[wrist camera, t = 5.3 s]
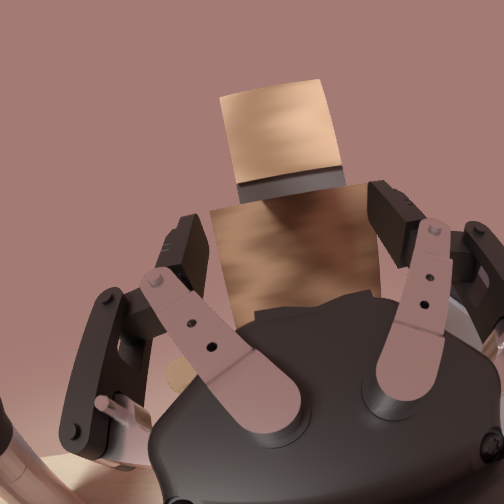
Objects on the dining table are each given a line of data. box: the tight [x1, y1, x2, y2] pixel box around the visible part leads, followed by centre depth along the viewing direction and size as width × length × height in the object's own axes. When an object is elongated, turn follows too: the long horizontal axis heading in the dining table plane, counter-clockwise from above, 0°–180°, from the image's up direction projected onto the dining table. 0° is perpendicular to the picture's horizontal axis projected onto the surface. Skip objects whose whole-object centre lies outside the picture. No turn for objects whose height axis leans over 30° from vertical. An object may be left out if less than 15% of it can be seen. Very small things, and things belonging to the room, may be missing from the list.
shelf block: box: [210, 183, 381, 329], centre depth 28 cm, size 12×13×32 cm
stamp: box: [220, 79, 346, 204], centre depth 20 cm, size 4×22×6 cm, turn 172°
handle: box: [165, 356, 197, 394], centre depth 31 cm, size 5×6×15 cm
